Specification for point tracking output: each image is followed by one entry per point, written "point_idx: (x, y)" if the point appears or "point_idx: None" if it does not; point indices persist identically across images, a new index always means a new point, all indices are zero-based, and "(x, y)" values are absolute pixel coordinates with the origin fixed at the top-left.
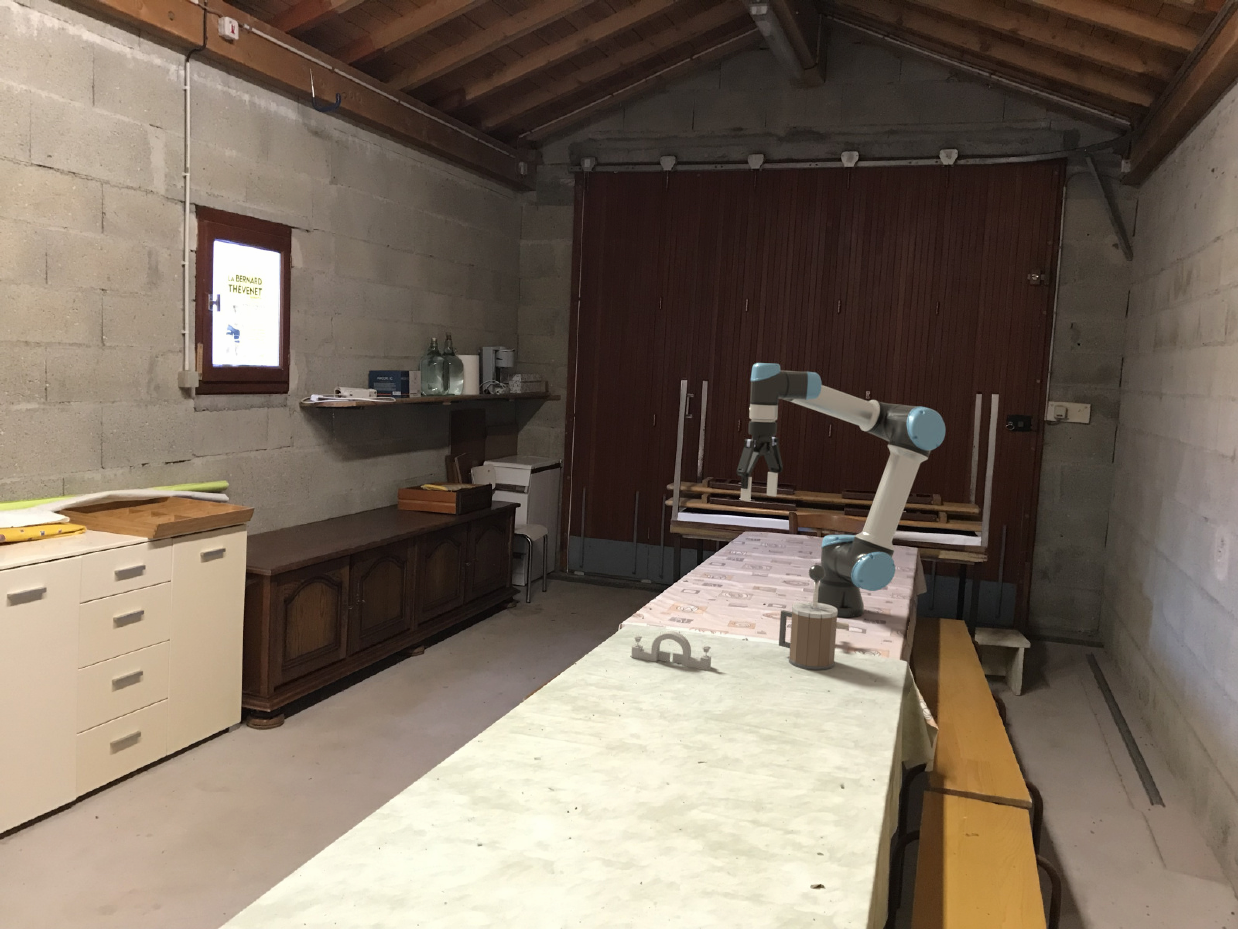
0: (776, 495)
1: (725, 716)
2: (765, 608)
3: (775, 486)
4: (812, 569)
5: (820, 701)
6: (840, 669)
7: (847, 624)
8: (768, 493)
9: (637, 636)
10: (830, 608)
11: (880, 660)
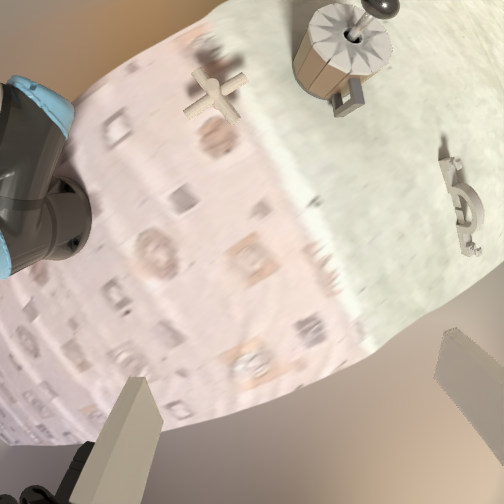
0: (127, 380)
1: (494, 82)
2: (142, 296)
3: (125, 424)
4: (399, 4)
5: (413, 21)
6: None
7: (201, 68)
8: (157, 422)
9: (481, 252)
10: (328, 16)
11: (228, 21)
